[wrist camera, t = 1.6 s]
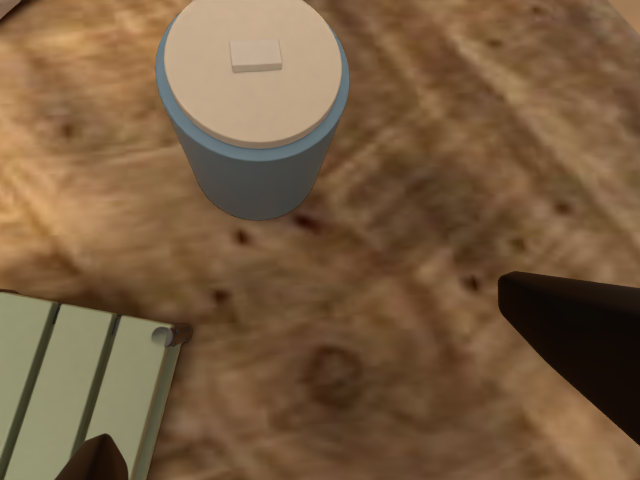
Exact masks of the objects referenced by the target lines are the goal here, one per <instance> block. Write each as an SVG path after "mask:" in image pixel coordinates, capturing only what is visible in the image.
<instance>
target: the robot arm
mask: <svg viewBox="0 0 640 480" xmlns="http://www.w3.org/2000/svg"><path fill="white" fill-rule="evenodd" d="M498 305H499V309H500V311H501V313H502V315H503V316H504V317H505V318H506V319H507V320H508V321H509V322H510V324H511V325H512V326H513V327H514V328H515V329H516V330H517V331H518V332H519V333H520V334H521V335H522V337H523V338H524V339H525V340H526V341H527V342H528V343H529V344H530V345H531V346H532V347H533V348H534V349H535V351H536V352H537V353H538V354H539V355H540V356H541V357H542V358H543V359H544V360H545V361H546V362H547V363H548V364H549V365H550V366H551V367H552V368H553V369H554V370H556V371H557V372H558V373H559V374H560V375H561V376H562V377H563V378H564V379H566V380H567V381H568V382H569V383H570V384H571V385H572V386H573V387H575V388H576V389H577V390H578V391H579V392H580V393H581V394H582V395H583V396H585V397H586V398H587V399H588V400H589V401H590V402H591V403H592V404H594V405H595V406H596V407H597V408H598V409H599V410H600V411H601V412H602V413H604V414H605V415H606V416H607V417H608V418H609V419H610V420H611V421H613V422H614V423H615V424H616V425H617V426H618V427H619V428H620V429H621V430H623V431H624V432H625V433H626V434H627V435H628V436H629V437H630V438H632V439H633V440H634V441H635V442H636V443H637V444H638V445H639V446H640V288H634V287H626V286H619V285H612V284H605V283H597V282H590V281H583V280H576V279H569V278H561V277H554V276H547V275H540V274H532V273H525V272H518V271H514V272H510V273H508V274H505V275H503V276H501V277H500V278H499V280H498ZM54 480H129V474H128V467H127V464H126V461H125V459H124V458H123V456H122V454H121V452H120V451H119V449H118V447H117V445H116V444H115V442H114V440H113V439H112V437H111V436H110V435H109V434H106V433H104V434H101V435H98V436H96V437H93V438H91V439H88V440H86V441H85V442H83V443H82V445H81V446H80V447H79V448H78V450H77V451H76V452H75V453H74V455H73V456H72V457H71V459H70V460H69V461H68V463H67V464H66V465H65V466H64V468H63V469H62V470H61V472H60V473H59V474H58V475H57V477H56V478H55V479H54Z"/></svg>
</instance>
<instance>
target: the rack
mask: <svg viewBox="0 0 640 480" xmlns="http://www.w3.org/2000/svg"><path fill="white" fill-rule="evenodd" d="M191 336H192V328H191V327H190V326H189V325H188V324H185V323H181V324H170V323H165V322H160V321H155V320H150V319H144V318H139V317H134V316H129V315H124V314H119V313H113V312H108V311H103V310H98V309H93V308H87V307H82V306H77V305H72V304H67V303H62V302H56V301H51V300H46V299H41V298H36V297H30V296H25V295H20V294H19V293H18V292H16V291H14V290H7V289H0V480H54V479H55V478H56V477H57V475H58V474H59V473H60V472H61V470H62V469H63V468H64V466H65V465H66V464H67V463H68V461H69V460H70V459H71V457H72V456H73V455H74V453H75V452H76V451H77V450H78V448H79V447H80V446H81V445H82V443H83V442H85V441H86V440H88V439H91V438H93V437H96V436H98V435H101V434H104V433H106V434H109V435H110V436H111V437H112V439H113V440H114V442H115V444H116V445H117V447H118V449H119V451H120V452H121V454H122V456H123V458H124V459H125V461H126V464H127V467H128V474H129V480H146V478H147V475H148V471H149V467H150V463H151V459H152V455H153V452H154V448H155V444H156V440H157V436H158V432H159V428H160V425H161V421H162V417H163V413H164V409H165V405H166V401H167V398H168V394H169V390H170V386H171V382H172V378H173V375H174V371H175V367H176V363H177V359H178V355H179V351H180V348H181V344H182V343H183V342H184V343H187V342H188V341H189V339H190V338H191Z"/></svg>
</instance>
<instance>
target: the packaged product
mask: <svg viewBox="0 0 640 480" xmlns="http://www.w3.org/2000/svg"><path fill="white" fill-rule="evenodd" d="M20 1H21V0H0V19H1V18H2V17H3V16H4V15H5V14H6V13H8V12H9V11H10V10H11V9H12V8H13V7H14V6H16V5H17V4H18V3H19V2H20Z"/></svg>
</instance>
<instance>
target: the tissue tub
mask: <svg viewBox="0 0 640 480" xmlns="http://www.w3.org/2000/svg"><path fill="white" fill-rule="evenodd" d="M155 71H156V82H157V87H158V91H159V94H160V97H161V100H162V102H163V105H164V107H165V109H166V111H167V114H168V116H169V118H170V120H171V123H172V125H173V127H174V129H175V132H176V134H177V136H178V138H179V140H180V143H181V145H182V147H183V149H184V152H185V154H186V156H187V158H188V161H189V163H190V165H191V167H192V170H193V172H194V174H195V176H196V179H197V181H198V183H199V185H200V187H201V189H202V191H203V192H204V193H205V195H206V196H207V197H208V199H209V200H210V201H211V202H212V203H213V204H215V205H216V206H217V207H218V208H220V209H221V210H223V211H225V212H226V213H228V214H231V215H233V216H235V217H239V218H242V219H248V220H268V219H272V218H276V217H279V216H282V215H284V214H286V213H288V212H290V211H292V210H293V209H294V208H296V207H297V206H298V205H299V204H300V203H302V202H303V200H304V199H305V198H306V197H307V196H308V194H309V192H310V191H311V189H312V187H313V185H314V182H315V180H316V177H317V175H318V172H319V170H320V167H321V165H322V163H323V160H324V158H325V155H326V153H327V150H328V148H329V145H330V143H331V140H332V138H333V135H334V133H335V130H336V128H337V125H338V123H339V121H340V118H341V116H342V113H343V111H344V108H345V106H346V102H347V98H348V93H349V85H350V79H349V68H348V62H347V59H346V56H345V52H344V50H343V48H342V45H341V43H340V41H339V39H338V38H337V36H336V34H335V33H334V31H333V30H332V29H331V27H330V26H329V25H328V24H327V22H326V21H325V20H324V19H323V18H322V17H321V16H320V15H319V14H318V13H317V12H316V11H315V10H314V9H313V8H312V7H311V6H309V5H308V4H307V3H306V2H304V1H303V0H194V1H192V2H191V3H190V4H189V5H188V6H187V7H185V8H184V9H183V10H182V11H181V12H180V13H179V14H178V15H177V16H176V17H175V19H174V20H173V21H172V22H171V23H170V25H169V26H168V28H167V30H166V31H165V33H164V35H163V37H162V40H161V42H160V45H159V48H158V52H157V57H156V67H155Z"/></svg>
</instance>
